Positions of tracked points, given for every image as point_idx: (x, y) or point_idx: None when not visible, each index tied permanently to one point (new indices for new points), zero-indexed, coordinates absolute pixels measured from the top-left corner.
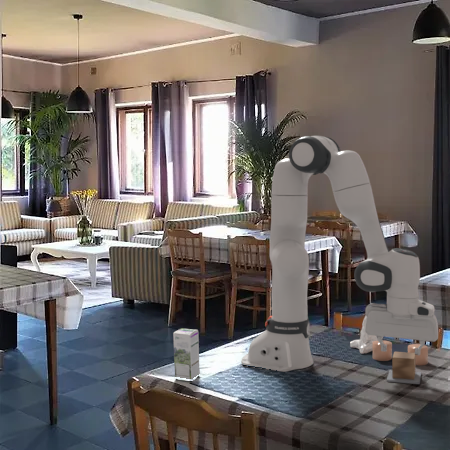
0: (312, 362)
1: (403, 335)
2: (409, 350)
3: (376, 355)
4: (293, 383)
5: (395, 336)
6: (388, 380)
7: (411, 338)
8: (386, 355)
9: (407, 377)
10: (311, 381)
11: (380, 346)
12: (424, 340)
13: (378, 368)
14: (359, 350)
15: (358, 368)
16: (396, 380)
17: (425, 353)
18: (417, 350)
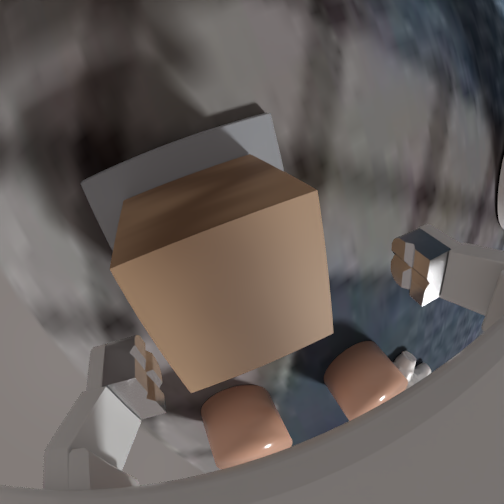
0: (502, 187)
1: (350, 479)
2: (276, 426)
3: (375, 351)
4: (490, 8)
5: (456, 375)
6: (258, 116)
7: (180, 491)
8: (346, 371)
9: (162, 188)
10: (476, 29)
11: (383, 381)
12: (23, 488)
13: (349, 275)
14: (412, 355)
15: (410, 228)
16: (213, 129)
17: (213, 442)
18: (108, 373)
